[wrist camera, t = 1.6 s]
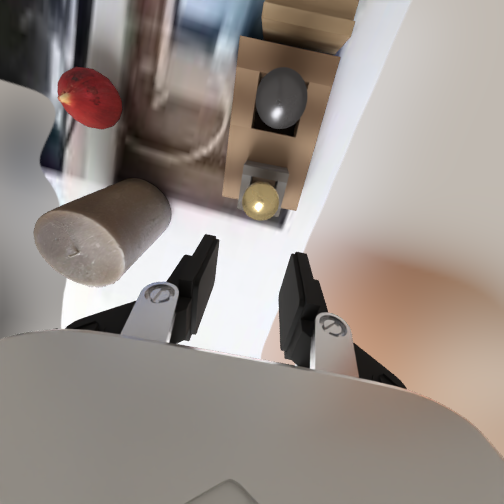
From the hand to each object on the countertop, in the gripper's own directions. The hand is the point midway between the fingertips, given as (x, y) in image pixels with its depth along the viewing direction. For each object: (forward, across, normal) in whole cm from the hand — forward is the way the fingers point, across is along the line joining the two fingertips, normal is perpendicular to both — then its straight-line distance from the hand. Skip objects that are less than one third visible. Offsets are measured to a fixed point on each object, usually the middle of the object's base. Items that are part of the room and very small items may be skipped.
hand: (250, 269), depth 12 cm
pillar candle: (+23, +18, +8) cm, 31 cm away
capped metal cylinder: (+23, 0, -8) cm, 25 cm away
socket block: (+23, 0, -6) cm, 24 cm away
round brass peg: (+16, 0, 0) cm, 16 cm away
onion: (+23, +21, -6) cm, 32 cm away
